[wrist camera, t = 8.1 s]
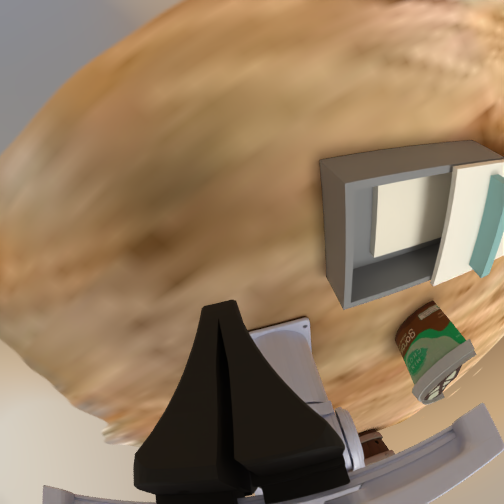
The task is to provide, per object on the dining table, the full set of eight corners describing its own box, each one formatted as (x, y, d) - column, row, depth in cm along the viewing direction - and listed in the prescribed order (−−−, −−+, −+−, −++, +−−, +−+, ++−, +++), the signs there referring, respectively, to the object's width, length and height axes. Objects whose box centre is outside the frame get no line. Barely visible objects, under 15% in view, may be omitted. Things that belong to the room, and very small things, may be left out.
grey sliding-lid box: (456, 236, 27) (479, 259, 23) (326, 276, 26) (343, 309, 23) (472, 140, 20) (504, 157, 17) (319, 160, 20) (344, 183, 16)
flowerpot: (338, 437, 61) (360, 504, 45) (391, 419, 62) (416, 480, 46) (328, 451, 69) (345, 508, 53) (375, 436, 71) (395, 489, 55)
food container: (396, 307, 31) (437, 374, 23) (436, 292, 32) (478, 352, 24) (381, 361, 39) (407, 417, 31) (414, 347, 39) (443, 399, 31)
